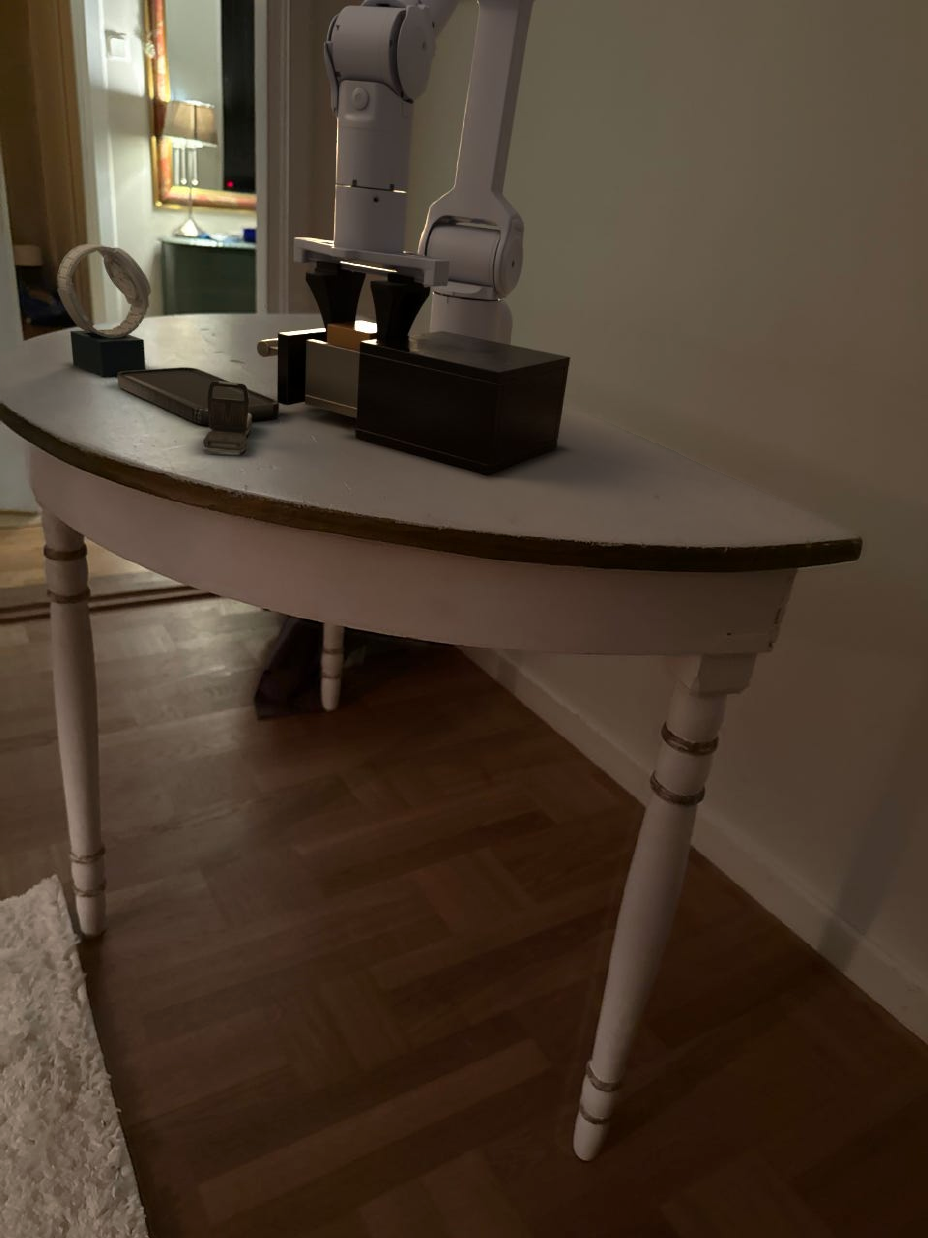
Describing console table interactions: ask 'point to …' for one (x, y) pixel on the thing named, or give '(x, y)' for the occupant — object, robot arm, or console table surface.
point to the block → (351, 333)
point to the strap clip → (227, 420)
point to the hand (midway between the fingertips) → (363, 363)
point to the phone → (190, 392)
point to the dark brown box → (460, 399)
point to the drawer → (314, 371)
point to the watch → (114, 346)
